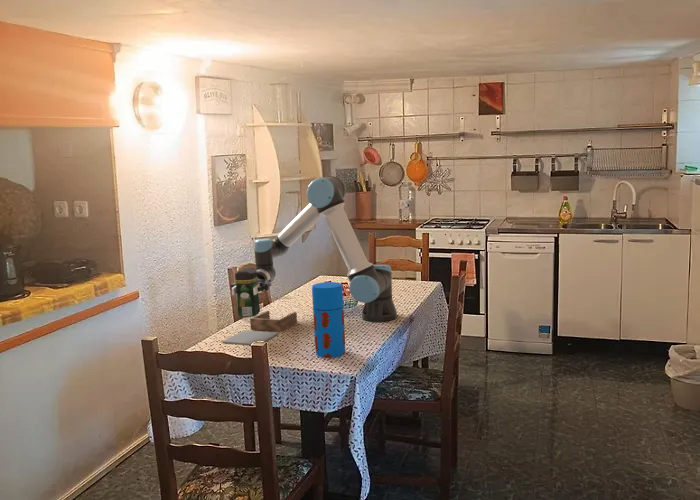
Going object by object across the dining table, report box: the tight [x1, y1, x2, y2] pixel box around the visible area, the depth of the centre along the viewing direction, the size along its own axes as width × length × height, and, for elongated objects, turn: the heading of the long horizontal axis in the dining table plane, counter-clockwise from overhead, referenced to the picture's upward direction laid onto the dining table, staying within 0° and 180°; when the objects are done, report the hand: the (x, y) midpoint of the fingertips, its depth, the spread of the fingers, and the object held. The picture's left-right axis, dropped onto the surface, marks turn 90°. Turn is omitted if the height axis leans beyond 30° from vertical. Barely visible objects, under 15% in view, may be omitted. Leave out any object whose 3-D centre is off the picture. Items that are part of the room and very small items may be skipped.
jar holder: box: [249, 310, 298, 332], centre depth 283 cm, size 14×14×4 cm
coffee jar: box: [234, 267, 261, 319], centre depth 263 cm, size 10×8×19 cm
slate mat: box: [221, 330, 279, 346], centre depth 265 cm, size 16×16×1 cm
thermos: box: [311, 281, 346, 359], centre depth 240 cm, size 11×11×25 cm
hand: (243, 291), depth 258 cm, fingers closed on coffee jar, 8 cm apart
